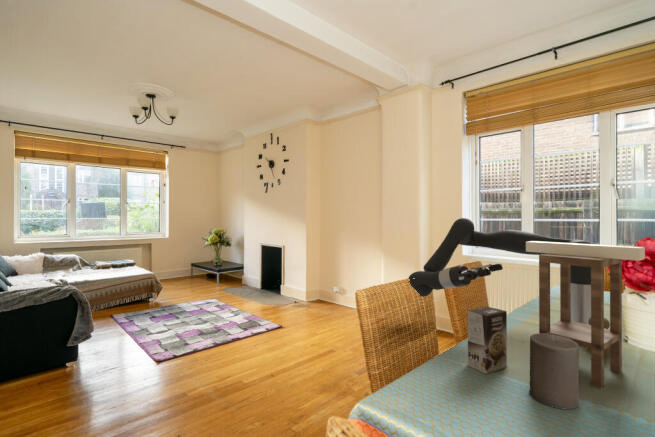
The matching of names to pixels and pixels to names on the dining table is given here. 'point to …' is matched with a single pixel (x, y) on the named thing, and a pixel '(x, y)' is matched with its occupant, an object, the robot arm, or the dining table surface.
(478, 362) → the coffee box
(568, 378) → the pillar candle
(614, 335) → the walnut shelf
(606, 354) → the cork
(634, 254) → the cutlery box
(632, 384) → the dining table surface
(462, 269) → the robot arm
